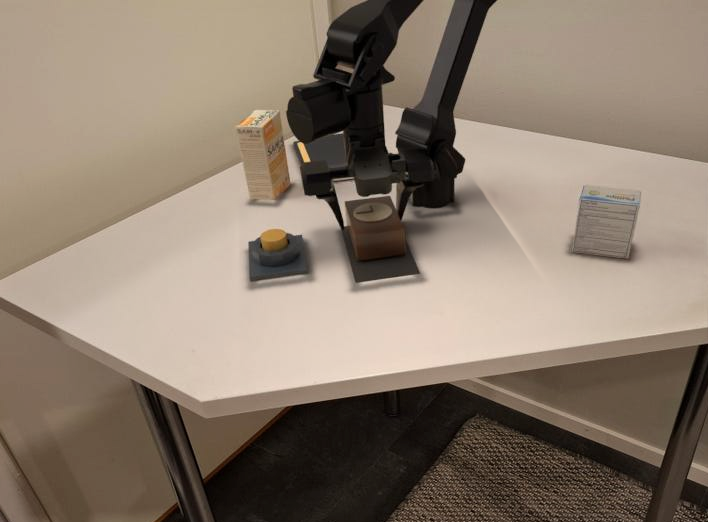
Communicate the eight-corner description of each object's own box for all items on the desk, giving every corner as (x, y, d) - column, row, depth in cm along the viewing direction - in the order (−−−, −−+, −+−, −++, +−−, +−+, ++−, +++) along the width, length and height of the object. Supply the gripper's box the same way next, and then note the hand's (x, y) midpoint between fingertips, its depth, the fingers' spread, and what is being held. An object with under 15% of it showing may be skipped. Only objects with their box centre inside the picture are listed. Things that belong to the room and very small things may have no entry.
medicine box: (630, 245, 91) (642, 189, 86) (628, 261, 88) (640, 204, 83) (574, 238, 94) (583, 183, 88) (570, 253, 90) (579, 197, 85)
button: (262, 241, 90) (259, 230, 89) (287, 238, 91) (285, 227, 90) (262, 254, 88) (260, 242, 86) (288, 250, 88) (286, 239, 87)
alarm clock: (391, 219, 98) (390, 193, 95) (405, 254, 89) (404, 227, 87) (346, 225, 97) (344, 199, 94) (357, 261, 89) (354, 234, 86)
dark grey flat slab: (397, 224, 99) (397, 219, 98) (420, 279, 87) (420, 273, 86) (340, 232, 98) (340, 226, 97) (356, 288, 86) (355, 282, 85)
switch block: (250, 251, 94) (245, 230, 92) (303, 244, 95) (300, 223, 93) (251, 287, 87) (246, 265, 85) (309, 279, 88) (305, 257, 86)
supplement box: (276, 205, 106) (262, 127, 97) (249, 203, 107) (233, 126, 98) (292, 184, 112) (280, 109, 103) (267, 182, 113) (253, 108, 104)
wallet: (388, 164, 112) (303, 175, 110) (388, 174, 113) (304, 185, 111) (366, 126, 127) (291, 135, 125) (367, 135, 128) (293, 144, 126)
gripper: (299, 152, 78) (314, 260, 88) (444, 135, 81) (443, 242, 91) (293, 121, 87) (308, 223, 97) (424, 107, 89) (426, 208, 99)
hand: (371, 225), depth 96 cm, fingers open, 8 cm apart
